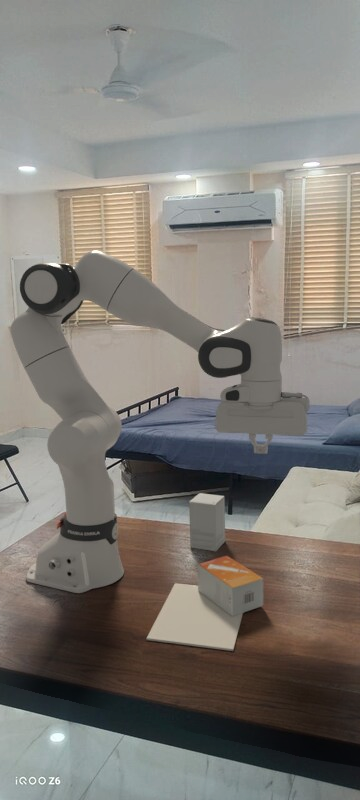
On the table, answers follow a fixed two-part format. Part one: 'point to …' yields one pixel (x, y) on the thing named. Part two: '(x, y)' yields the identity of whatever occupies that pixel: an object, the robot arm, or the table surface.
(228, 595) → the small box
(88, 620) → the table surface
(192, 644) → the mat
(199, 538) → the supplement box
